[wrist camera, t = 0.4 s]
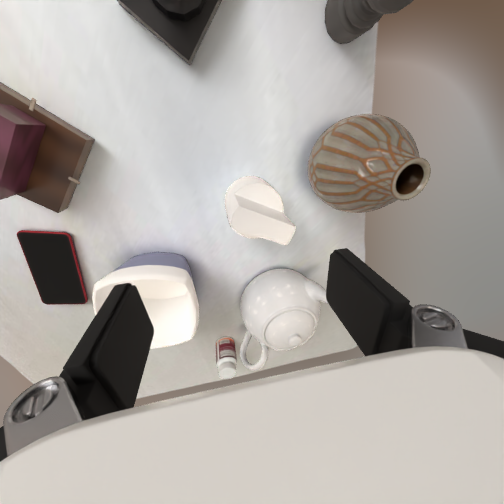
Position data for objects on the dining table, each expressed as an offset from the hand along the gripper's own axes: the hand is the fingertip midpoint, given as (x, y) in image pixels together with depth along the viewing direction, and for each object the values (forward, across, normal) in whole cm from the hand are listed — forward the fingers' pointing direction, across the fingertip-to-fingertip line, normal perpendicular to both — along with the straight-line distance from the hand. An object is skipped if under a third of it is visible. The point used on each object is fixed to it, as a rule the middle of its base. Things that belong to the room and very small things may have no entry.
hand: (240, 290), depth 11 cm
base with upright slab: (+30, -5, +5) cm, 31 cm away
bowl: (+30, +14, +17) cm, 38 cm away
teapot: (+30, -9, +28) cm, 42 cm away
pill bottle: (+31, +4, +40) cm, 51 cm away
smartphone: (+30, +31, +12) cm, 45 cm away
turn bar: (+27, +25, -7) cm, 38 cm away
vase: (+30, -20, -1) cm, 36 cm away
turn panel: (+30, +25, -7) cm, 40 cm away
